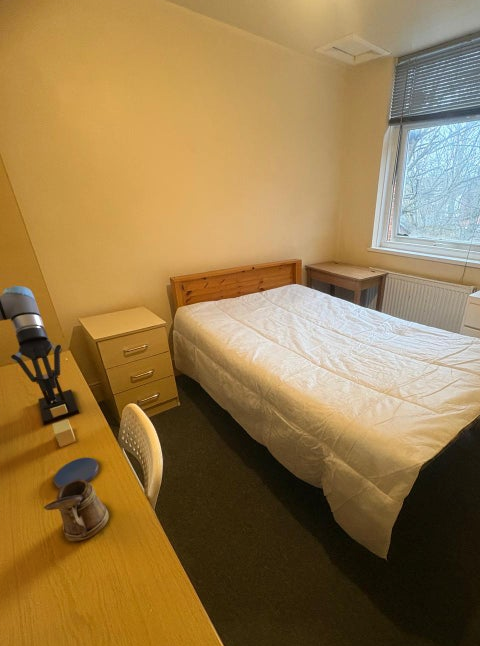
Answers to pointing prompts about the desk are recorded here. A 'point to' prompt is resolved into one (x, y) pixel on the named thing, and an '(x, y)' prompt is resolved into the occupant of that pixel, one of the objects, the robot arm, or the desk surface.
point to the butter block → (63, 432)
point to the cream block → (59, 410)
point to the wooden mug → (79, 510)
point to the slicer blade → (54, 403)
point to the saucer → (76, 471)
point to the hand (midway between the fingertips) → (52, 398)
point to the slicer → (61, 395)
